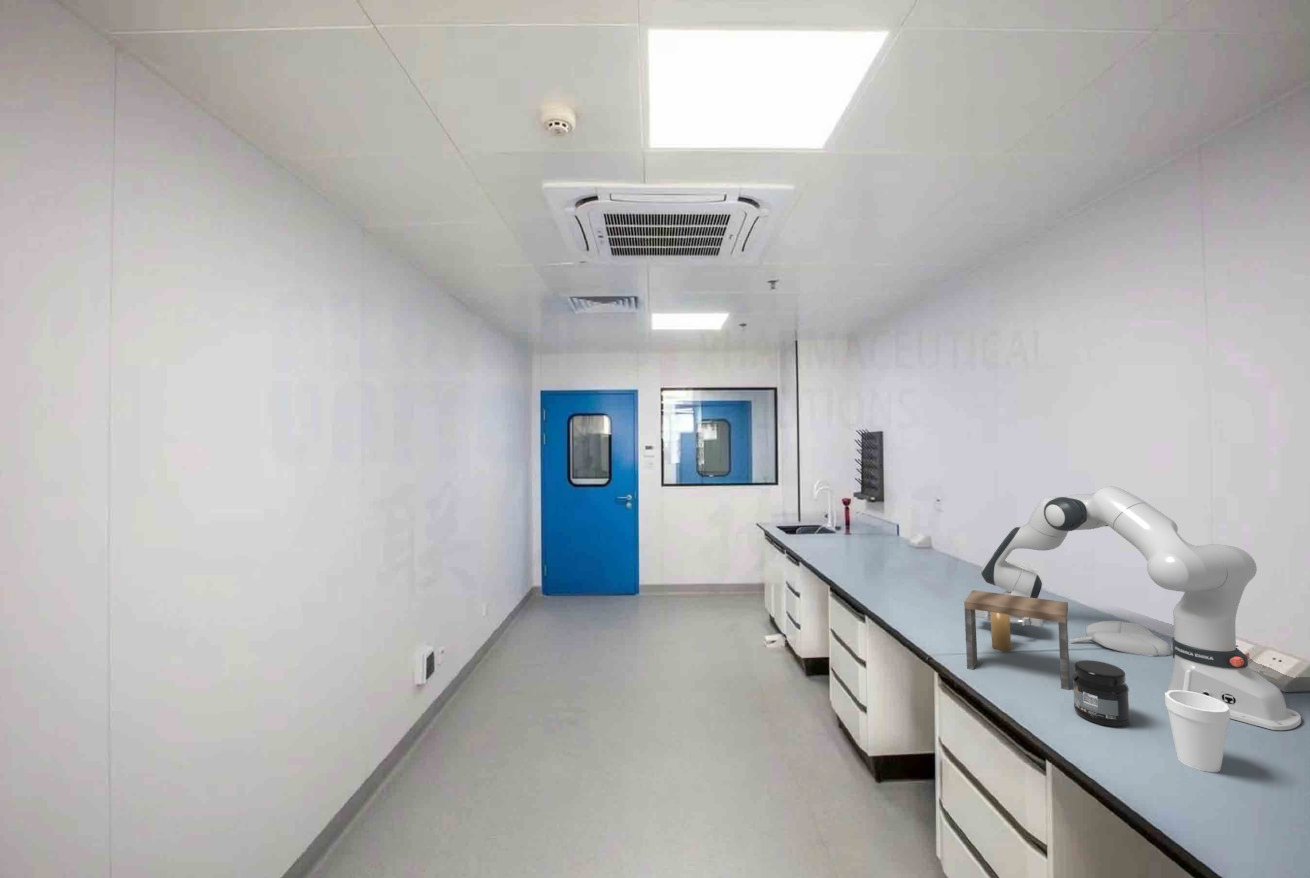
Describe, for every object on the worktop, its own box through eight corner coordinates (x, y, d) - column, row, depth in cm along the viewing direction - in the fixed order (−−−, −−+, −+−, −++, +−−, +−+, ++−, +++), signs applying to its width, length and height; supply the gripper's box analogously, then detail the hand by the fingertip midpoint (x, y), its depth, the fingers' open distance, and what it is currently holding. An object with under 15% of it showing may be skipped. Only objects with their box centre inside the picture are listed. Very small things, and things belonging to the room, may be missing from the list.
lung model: (1180, 658, 161) (1085, 661, 166) (1142, 638, 178) (1057, 641, 183) (1176, 636, 161) (1081, 640, 167) (1139, 618, 178) (1054, 622, 183)
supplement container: (1120, 710, 133) (1118, 662, 133) (1137, 732, 123) (1135, 680, 123) (1068, 703, 137) (1066, 656, 137) (1081, 723, 128) (1078, 673, 128)
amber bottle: (1014, 648, 172) (1012, 606, 172) (1004, 652, 170) (1002, 609, 170) (998, 643, 177) (996, 602, 177) (988, 646, 175) (986, 605, 175)
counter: (1070, 671, 155) (1067, 602, 155) (1068, 689, 144) (1065, 615, 144) (975, 652, 170) (972, 590, 170) (967, 668, 159) (964, 601, 160)
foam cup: (1197, 748, 116) (1194, 689, 116) (1245, 775, 107) (1243, 710, 107) (1155, 751, 116) (1152, 691, 116) (1199, 778, 107) (1197, 713, 107)
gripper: (975, 596, 196) (968, 606, 185) (1044, 605, 183) (1041, 616, 172) (976, 613, 196) (969, 624, 185) (1045, 623, 183) (1042, 636, 172)
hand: (1004, 620), depth 179 cm, fingers open, 8 cm apart
